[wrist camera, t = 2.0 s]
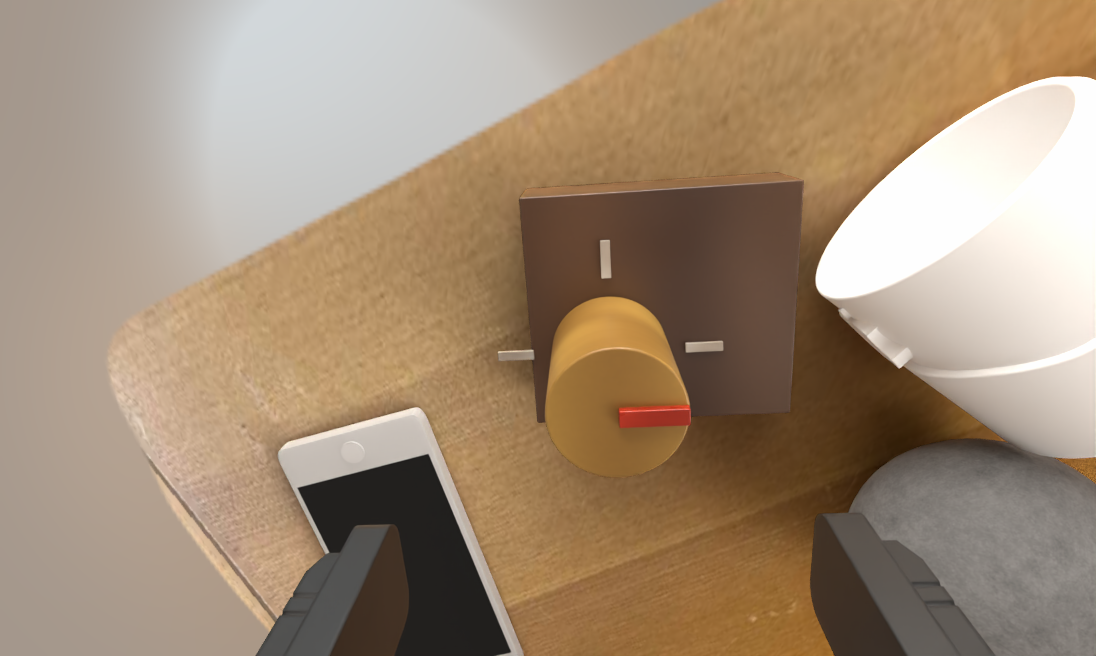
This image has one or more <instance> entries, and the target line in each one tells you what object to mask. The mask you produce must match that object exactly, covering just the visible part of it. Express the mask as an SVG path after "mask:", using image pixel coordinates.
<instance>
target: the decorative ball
mask: <svg viewBox="0 0 1096 656" xmlns="http://www.w3.org/2000/svg"><path fill="white" fill-rule="evenodd" d="M848 513H862V514H863V515H864V516H865V517H866V518H867V520H868V521H869V522H870V524H871V525H872V527H873V528H874V530H875V531H876V533H877V534H878V535H879V537H880V538H881V540H897V541H898V542H900V543H901V544H902V545H904V546H905V547H907V548H908V549H909V550H911V551H912V552H914V553H915V554H916V555H918V556H919V557H921V558H922V559H923V560H924V561H925V563H926V564H927V565H928V567H929V568H930V569H931V570H932V572H933V573H934V574H935V576H936V577H937V578H938V580H939V581H940V585H941V586H944V588H945V589H946V590H947V592H948V593H949V594H950V596H951V597H952V598H953V600H954V603H955V605H958V606H959V608H960V609H961V610H962V612H963V613H964V614H965V616H966V617H967V618H968V619H969V621H970V622H971V623H972V625H973V626H974V627H975V629H976V630H977V631H978V633H979V634H980V635H981V637H982V638H983V639H984V641H985V642H986V643H987V645H988V646H989V647H990V649H991V650H992V651H993V653H994V654H995V655H996V656H1096V484H1095V483H1094V482H1092V481H1091V480H1090V479H1088V478H1087V477H1085V476H1084V475H1082V474H1081V473H1080V472H1078V471H1077V470H1075V469H1073V468H1072V467H1070V466H1068V465H1066V464H1065V463H1063V462H1061V461H1059V460H1057V459H1055V458H1053V457H1048V456H1043V455H1038V454H1034V453H1031V452H1028V451H1025V450H1022V449H1020V448H1018V447H1016V446H1014V445H1012V444H1010V443H1007V442H1001V441H995V440H986V439H951V440H945V441H941V442H935V443H930V444H926V445H922V446H919V447H917V448H914V449H911V450H909V451H907V452H905V453H903V454H901V455H898V456H897V457H895V458H893V459H891V460H890V461H889V462H887V463H886V464H885V465H883V466H882V467H880V468H879V469H878V470H877V471H876V472H875V473H874V474H872V476H871V477H870V478H869V479H868V480H867V482H866V483H865V484H863V486H862V487H861V489H860V490H859V492H858V494H857V495H856V497H855V499H854V501H853V503H852V505H851V507H850V509H849V512H848Z"/></svg>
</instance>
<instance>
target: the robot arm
mask: <svg viewBox="0 0 1096 656" xmlns="http://www.w3.org/2000/svg"><path fill="white" fill-rule="evenodd" d="M810 588H811V597H812V602H813V606H814V610H815V613H816V616H817V618H818V621H819V623H820V625H821V627H822V629H823V631H824V634H825V636H826V638H827V640H828V642H829V645H830V647H831V649H832V651H833V653H834V655H835V656H996V655H995V654H994V653H993V651H992V650H991V649H990V647H989V646H988V645H987V643H986V642H985V641H984V639H983V638H982V637H981V635H980V634H979V633H978V631H977V630H976V629H975V627H974V626H973V625H972V623H971V622H970V621H969V619H968V618H967V617H966V616H965V614H964V613H963V612H962V610H961V609H960V608H959V606H958V605H955V603H954V600H953V598H952V597H951V596H950V594H949V593H948V592H947V590H946V589H945V588H944V586H941V585H940V581H939V580H938V578H937V577H936V576H935V574H934V573H933V572H932V570H931V569H930V568H929V567H928V565H927V564H926V563H925V561H924V560H923V559H922V558H921V557H919V556H918V555H916V554H915V553H914V552H912V551H911V550H909V549H908V548H907V547H905V546H904V545H902V544H901V543H900V542H898V541H897V540H881V538H880V537H879V535H878V534H877V533H876V531H875V530H874V528H873V527H872V525H871V524H870V522H869V521H868V520H867V518H866V517H865V516H864V515H863V514H862V513H824V514H818V515H817V516H816V519H815V525H814V538H813V551H812V564H811V577H810ZM408 607H409V588H408V582H407V576H406V571H405V565H404V559H403V554H402V548H401V542H400V537H399V532H398V529H397V527H396V526H395V525H394V524H390V525H357V526H355V527H354V528H353V530H352V532H351V533H350V535H349V537H348V539H347V541H346V543H345V544H344V546H343V548H342V550H341V552H340V553H327V554H326V555H325V556H324V557H322V558H321V559H320V560H319V561H318V562H317V563H316V564H314V565H313V566H312V567H311V568H310V569H309V570H308V571H306V573H305V574H304V576H303V578H302V579H301V581H300V583H299V584H298V586H297V588H296V589H295V591H294V593H293V597H291V598H290V599H289V601H288V603H287V604H286V606H285V608H284V609H283V614H282V615H280V616H279V618H278V619H277V621H276V623H275V624H274V626H273V628H272V629H271V631H270V633H269V634H268V636H267V638H266V639H265V641H264V643H263V644H262V646H261V648H260V649H259V651H258V653H257V654H256V656H394V655H395V652H396V649H397V646H398V643H399V640H400V638H401V635H402V632H403V629H404V626H405V623H406V619H407V614H408Z"/></svg>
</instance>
